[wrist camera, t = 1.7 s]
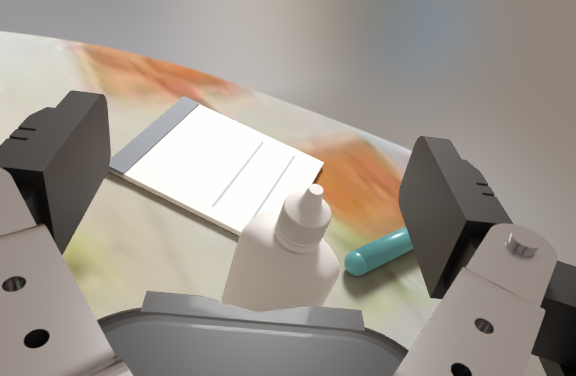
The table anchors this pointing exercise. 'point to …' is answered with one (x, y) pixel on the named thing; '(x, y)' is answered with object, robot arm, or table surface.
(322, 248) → the white tapered bottle shape
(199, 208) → the notepad
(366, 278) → the table surface
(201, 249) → the table surface
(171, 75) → the table surface
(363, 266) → the marker
